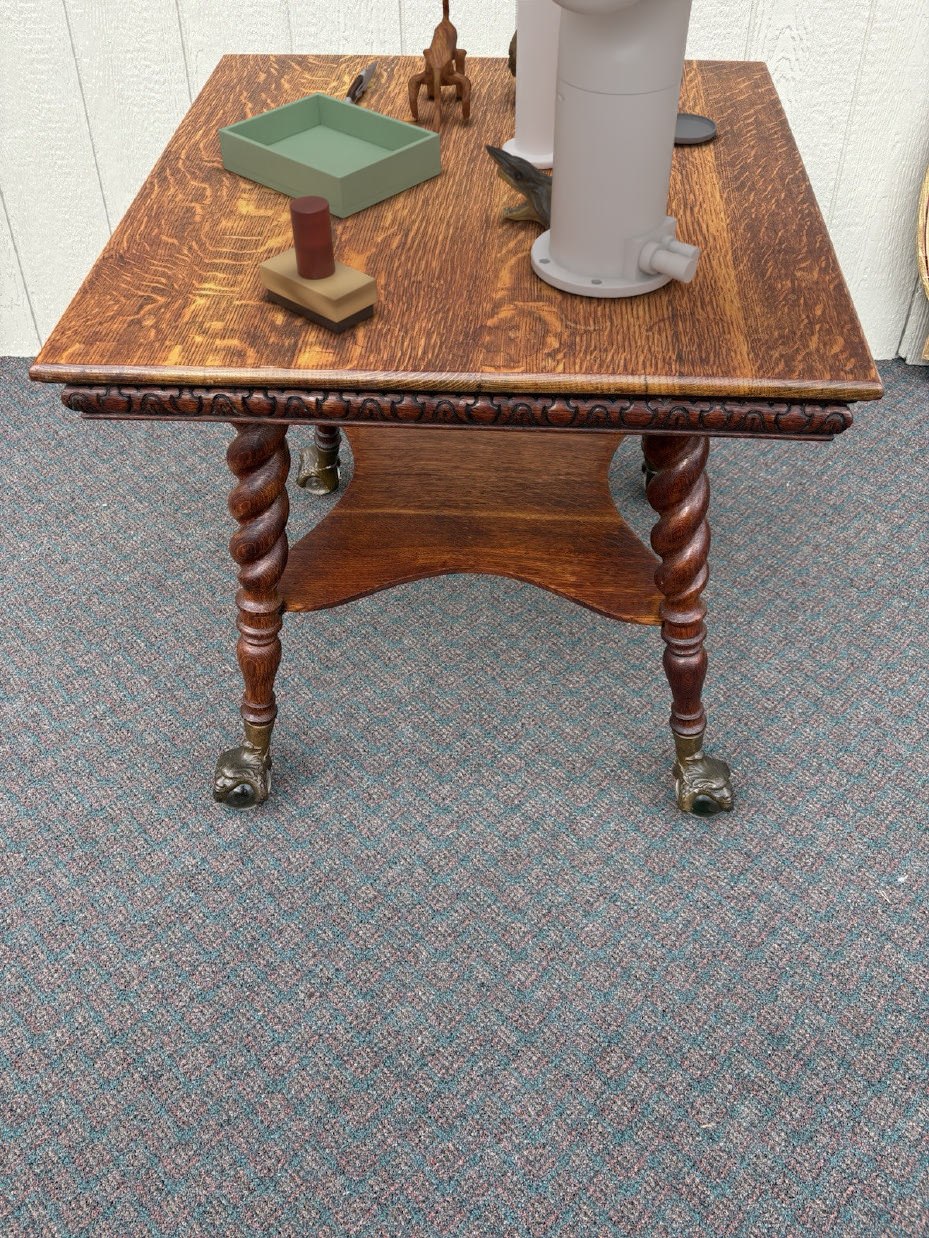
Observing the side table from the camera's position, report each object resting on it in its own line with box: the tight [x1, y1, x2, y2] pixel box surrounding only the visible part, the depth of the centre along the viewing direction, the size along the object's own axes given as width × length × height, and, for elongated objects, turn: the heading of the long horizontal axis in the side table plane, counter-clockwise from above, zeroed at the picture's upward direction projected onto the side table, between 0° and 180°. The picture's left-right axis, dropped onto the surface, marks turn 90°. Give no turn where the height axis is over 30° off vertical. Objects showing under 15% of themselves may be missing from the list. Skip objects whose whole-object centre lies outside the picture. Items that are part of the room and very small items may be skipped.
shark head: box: [484, 144, 552, 232], centre depth 101 cm, size 8×6×7 cm
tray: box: [217, 91, 442, 219], centre depth 111 cm, size 17×13×4 cm
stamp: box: [258, 196, 378, 334], centre depth 90 cm, size 9×4×9 cm, turn 48°
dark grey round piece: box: [674, 75, 718, 145], centre depth 115 cm, size 8×8×10 cm
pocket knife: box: [344, 60, 378, 105], centre depth 127 cm, size 14×1×2 cm, turn 169°
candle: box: [501, 0, 562, 170], centre depth 106 cm, size 7×7×25 cm
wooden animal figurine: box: [407, 0, 472, 134], centre depth 117 cm, size 18×7×14 cm, turn 176°
